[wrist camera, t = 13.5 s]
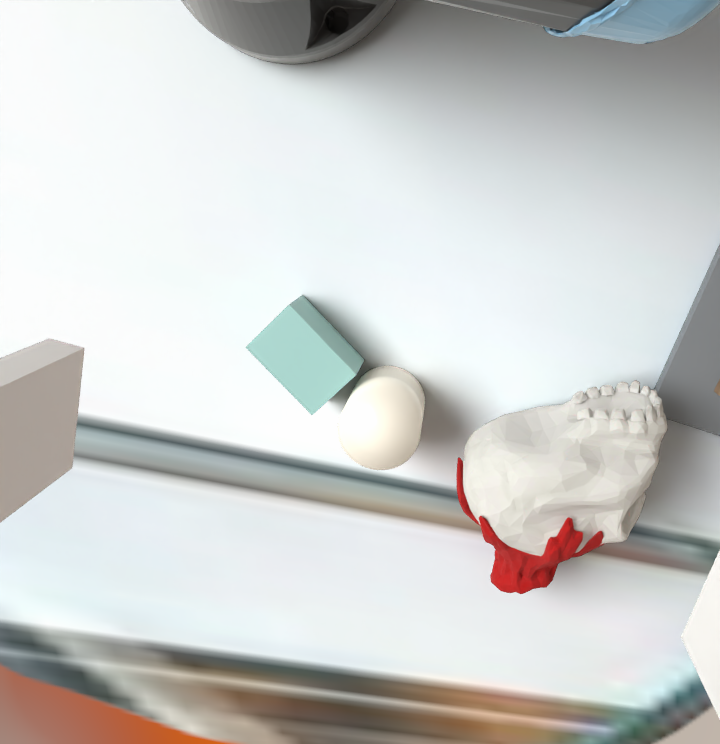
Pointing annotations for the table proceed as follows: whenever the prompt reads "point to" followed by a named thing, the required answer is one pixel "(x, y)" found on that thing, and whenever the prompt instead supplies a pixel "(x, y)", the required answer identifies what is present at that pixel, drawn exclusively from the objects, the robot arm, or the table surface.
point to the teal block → (306, 354)
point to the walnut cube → (717, 388)
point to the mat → (696, 361)
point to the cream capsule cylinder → (382, 418)
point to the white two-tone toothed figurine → (560, 479)
